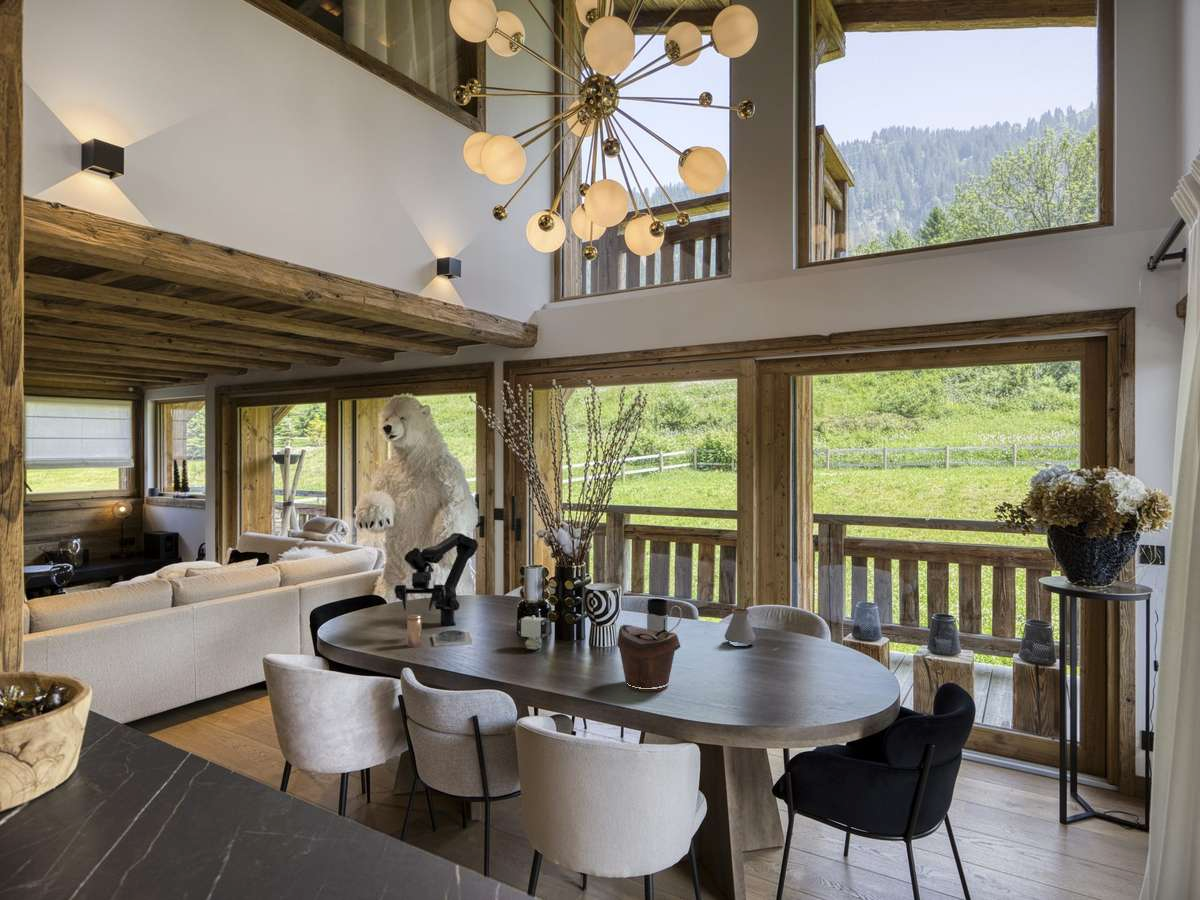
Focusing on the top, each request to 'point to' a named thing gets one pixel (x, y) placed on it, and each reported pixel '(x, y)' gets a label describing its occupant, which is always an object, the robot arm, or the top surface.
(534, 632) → the pneumatic valve
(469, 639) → the duct collar plate
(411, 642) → the copper cylindrical jar
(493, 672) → the top surface
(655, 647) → the brown flower pot
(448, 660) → the top surface
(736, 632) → the coffee pot
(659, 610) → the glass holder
